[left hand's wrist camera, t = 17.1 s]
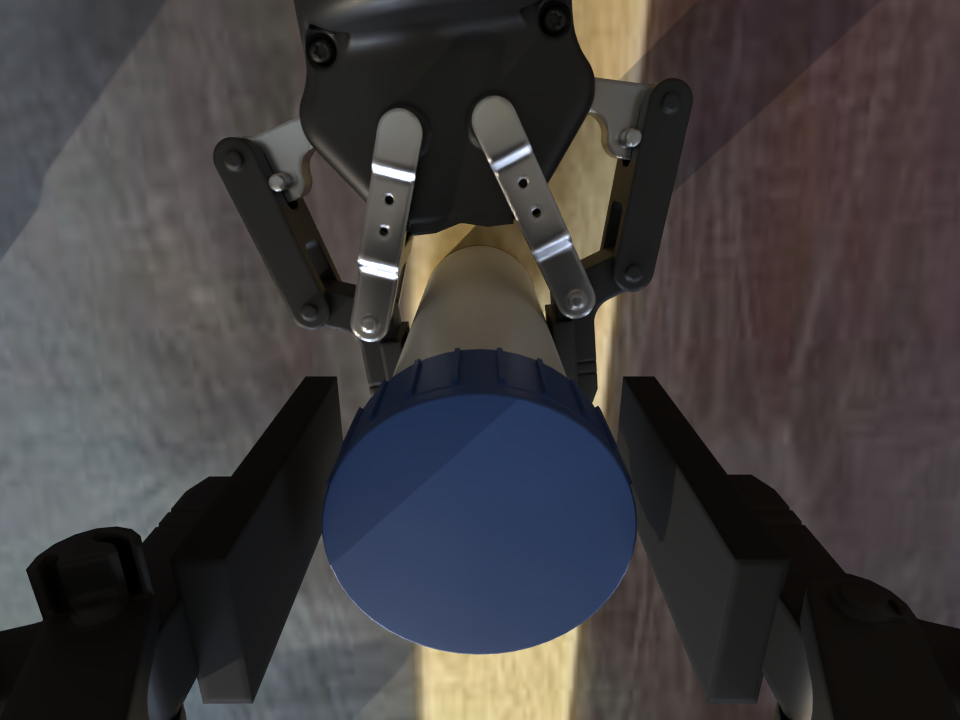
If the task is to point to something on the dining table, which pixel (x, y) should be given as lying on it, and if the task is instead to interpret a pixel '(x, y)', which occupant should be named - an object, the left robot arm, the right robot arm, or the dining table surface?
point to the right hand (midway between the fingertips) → (487, 418)
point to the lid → (479, 504)
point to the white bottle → (479, 310)
